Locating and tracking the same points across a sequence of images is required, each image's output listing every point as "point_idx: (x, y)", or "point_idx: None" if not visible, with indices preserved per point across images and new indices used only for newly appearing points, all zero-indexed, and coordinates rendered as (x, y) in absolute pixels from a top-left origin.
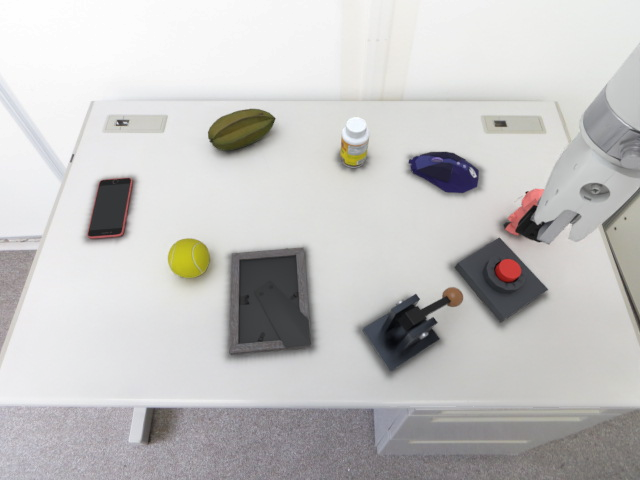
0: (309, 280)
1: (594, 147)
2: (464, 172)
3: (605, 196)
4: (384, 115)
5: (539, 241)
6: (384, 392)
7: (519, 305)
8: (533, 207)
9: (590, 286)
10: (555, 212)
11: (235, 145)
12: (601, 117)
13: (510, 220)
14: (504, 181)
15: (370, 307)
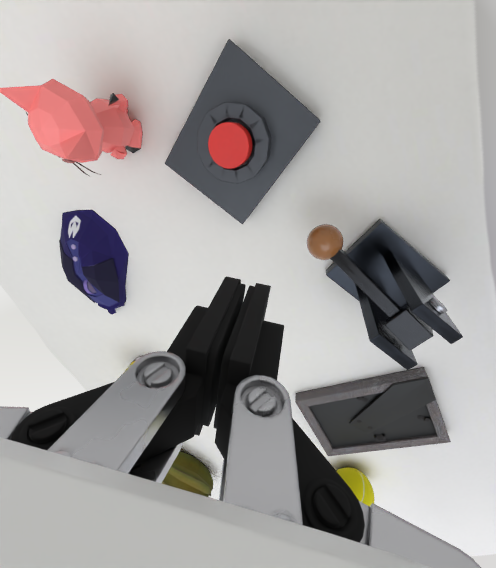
0: (332, 382)
1: None
2: (83, 243)
3: None
4: (66, 346)
5: (269, 291)
6: (478, 276)
7: (284, 97)
8: (195, 432)
9: None
10: None
11: (199, 468)
12: None
13: (124, 153)
14: (54, 166)
15: (349, 315)
